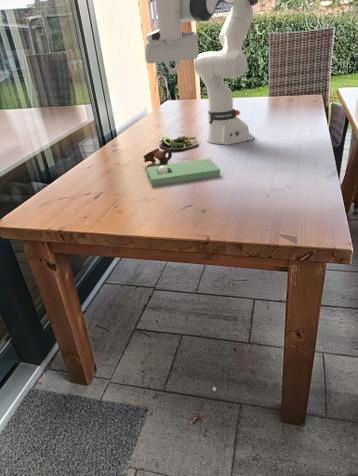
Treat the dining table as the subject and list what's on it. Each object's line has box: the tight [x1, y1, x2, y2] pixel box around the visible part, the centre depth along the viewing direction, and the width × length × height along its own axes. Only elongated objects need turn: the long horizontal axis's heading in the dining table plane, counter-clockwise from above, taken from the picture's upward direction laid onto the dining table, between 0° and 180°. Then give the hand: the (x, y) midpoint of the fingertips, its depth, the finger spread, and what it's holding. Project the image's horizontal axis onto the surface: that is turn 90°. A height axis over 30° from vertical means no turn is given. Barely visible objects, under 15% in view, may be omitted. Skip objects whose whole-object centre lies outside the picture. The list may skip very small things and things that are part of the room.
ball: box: [158, 166, 168, 174], centre depth 145 cm, size 4×4×4 cm
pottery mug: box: [143, 148, 173, 166], centre depth 157 cm, size 12×10×8 cm
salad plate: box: [158, 135, 199, 153], centre depth 181 cm, size 19×18×5 cm
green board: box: [146, 158, 221, 187], centre depth 146 cm, size 26×14×2 cm, turn 102°
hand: (173, 74), depth 146 cm, fingers closed
